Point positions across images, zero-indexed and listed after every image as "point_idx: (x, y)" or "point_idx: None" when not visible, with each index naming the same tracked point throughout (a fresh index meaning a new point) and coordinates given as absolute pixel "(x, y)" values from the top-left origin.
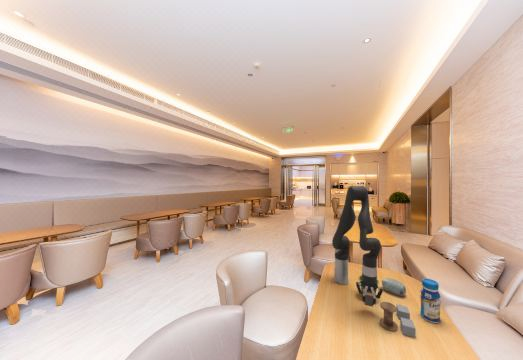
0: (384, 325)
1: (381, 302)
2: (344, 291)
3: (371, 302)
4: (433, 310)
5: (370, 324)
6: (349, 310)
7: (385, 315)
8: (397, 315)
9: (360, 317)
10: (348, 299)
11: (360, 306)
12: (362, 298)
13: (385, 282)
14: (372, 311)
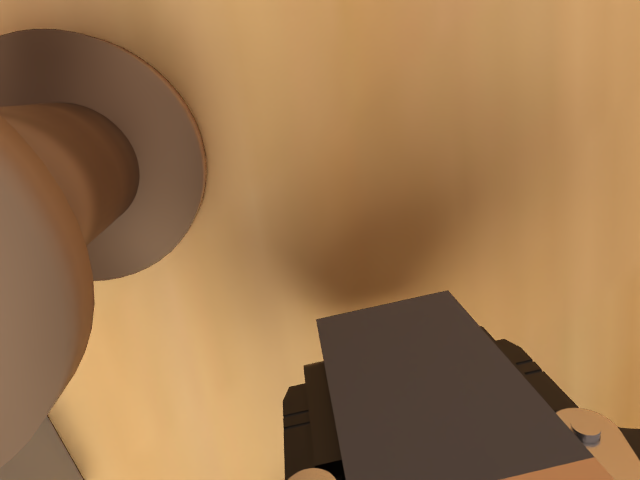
0: (103, 72)
1: (47, 374)
2: None
3: (357, 359)
4: None
5: (299, 10)
6: (587, 158)
7: (15, 127)
8: (53, 432)
9: (444, 93)
10: (596, 371)
11: None
12: (536, 369)
13: None
14: None
